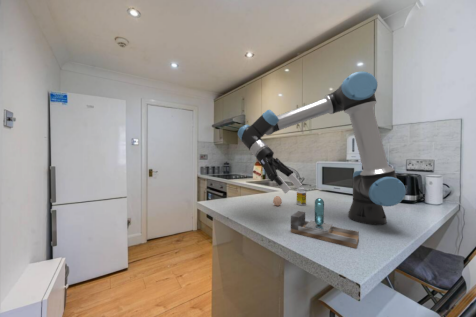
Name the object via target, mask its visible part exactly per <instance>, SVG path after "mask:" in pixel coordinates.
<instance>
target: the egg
mask: <svg viewBox="0 0 476 317" xmlns="http://www.w3.org/2000/svg"><path fill="white" fill-rule="evenodd" d="M272 201H273V204H274V205H275V206H276V207H279V206H280V205H282V202H283V200H282V197H281V196H279V195H275V196H274V197H273V200H272Z"/></svg>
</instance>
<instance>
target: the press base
mask: <svg viewBox="0 0 476 317" xmlns="http://www.w3.org/2000/svg"><path fill="white" fill-rule="evenodd" d="M309 222H310V221H309V220H306V212H305V211H301V210H298V211H296V212H294V213H293V214H291V215H290V233H291V234H292V233H293V234H296V235H301V236H304V237H307V238H308V237H309V238H313V239H315V240H316V239H317V240H321V241H325V242H328V243H332V244H336V245H342V246H345V247H348V248H353V249H357V247H358V243H359V239H360V238H359V237H360V233H359V232H360V231H358V230H353V229H348V228H342V227H338V226H334V225H332V231H331V233H327V232H323V231H318V230H314V229H309V228H306V224H308V223H309Z"/></svg>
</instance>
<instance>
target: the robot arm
mask: <svg viewBox="0 0 476 317" xmlns="http://www.w3.org/2000/svg"><path fill="white" fill-rule="evenodd" d="M341 83H342V84H340V86H339V87H338V88H337V89H335V90H334V91H332V92H331V93H329V94H326V95H325V96H324V97H323V98H322V99H319V100H316V101H312V102H310V103H308V104H306V105H305V104H304V105H302V106H300V107H297V108H294V109H292V110H289V111H287V112H284V113H281V114H279V115H276V113H274V112H273V111H272V110H271V109H267V110H266V111H264V112H263V113H262V114H261V115H260V116H259V117H258V118H257V119H256V120H255V121H254V122H253V123H252V124H250V125H249V124H243V126H240V127H239V129H238V131H237V136H238V138H239V139H240V141H241V143H242V144H244V145H245V146H246V148H247V149H248V150H249V151H250V153H251V155H253V156H254V157H255V158H256V160H257V161H258V162H259V164H260V165H261V166H262V168H263V169H264V172H265V174H266V176H267V178H268V180H270V181H271V182H275V184H277V186H278V187H279V188H280V190H282V192H283V193H284V194H288V192H289V191H291V187H290V186H289V185H288V184H287V183H286V181H284V179H283V178H282V177H281V176H280V175H278V172H277V171H279V172H280V173H281V174H283V175H285V176H286V177H287V179H288V180H289V182H291V183H292V184H293V186H294V187H295V188H296V189H297V190H298V188H301V187H302V186H303V184H302V182H300V180H299V179H298V178H297V177H296V176H295V175H294V171H293V170H292V169H290V167H288V166H287V165H285V164H284V163H283V162H282V161H281V160H280V159H279V158H278V157H276V158H275V157H274V151H273V150H272V149H271V148H270V146H268V144H267V143H266V142H265V141H264V140H263V139H262V138H263V137H264V136H265V135H266V136H271V135H272V134H274V133H276V132H279V131H281V130H284V129H287V128H290V127H293V126H296V125H299V124H301V123H304V122H307V121H311V120H313V119H315V118H318V117H321V116H324V115H326V114H327V115H328V114H329V115H333V114H336V113H340V112H344V113H345V114H346V115H348V116H349V119H350V123H351V127H352V132H353V134H354V139H355V142H356V147H357V150H358V154H359V158H360V162H361V166H362V170H355V171H354V172H353V174H352V203H351V204H350V208H349V209H348V212H347V214H348V216H347V217H348V218H349V219H350V220H353V221H355V222H358V223H362V224H366V225H367V224H369V225H378V226H379V225H386V224H387V216H386V212H385V210H384V208H383V207H394V206H397V205H398V204H400V203H401V202H402V201H403V200H404V199H405V197H406V192H407V190H406V186H405V185H404V183H403V182H402V181H401V180H400V179H399V178H397V174H396V171H395V168H394V167H392V166H390V165H389V163H388V160H387V155H386V152H385V147H384V144H383V141H382V137H381V133H380V128H379V126H378V121H377V117H376V114H375V110H374V106H376V104H377V99H376V95H375V93H376V91H377V89H378V80H377V78H376V77H375V76H374V75H373V73H370V72H367V71H364V70H363V71H356V72H353V73H351V74H350V75H348V76H347V77H346V78H344V79H343V81H342V82H341Z"/></svg>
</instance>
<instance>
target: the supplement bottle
mask: <svg viewBox="0 0 476 317" xmlns="http://www.w3.org/2000/svg"><path fill="white" fill-rule="evenodd" d="M305 190H306V188H305V187H299V188H298V189H297V190H296V205H298V206H306V205H307V191H305Z"/></svg>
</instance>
